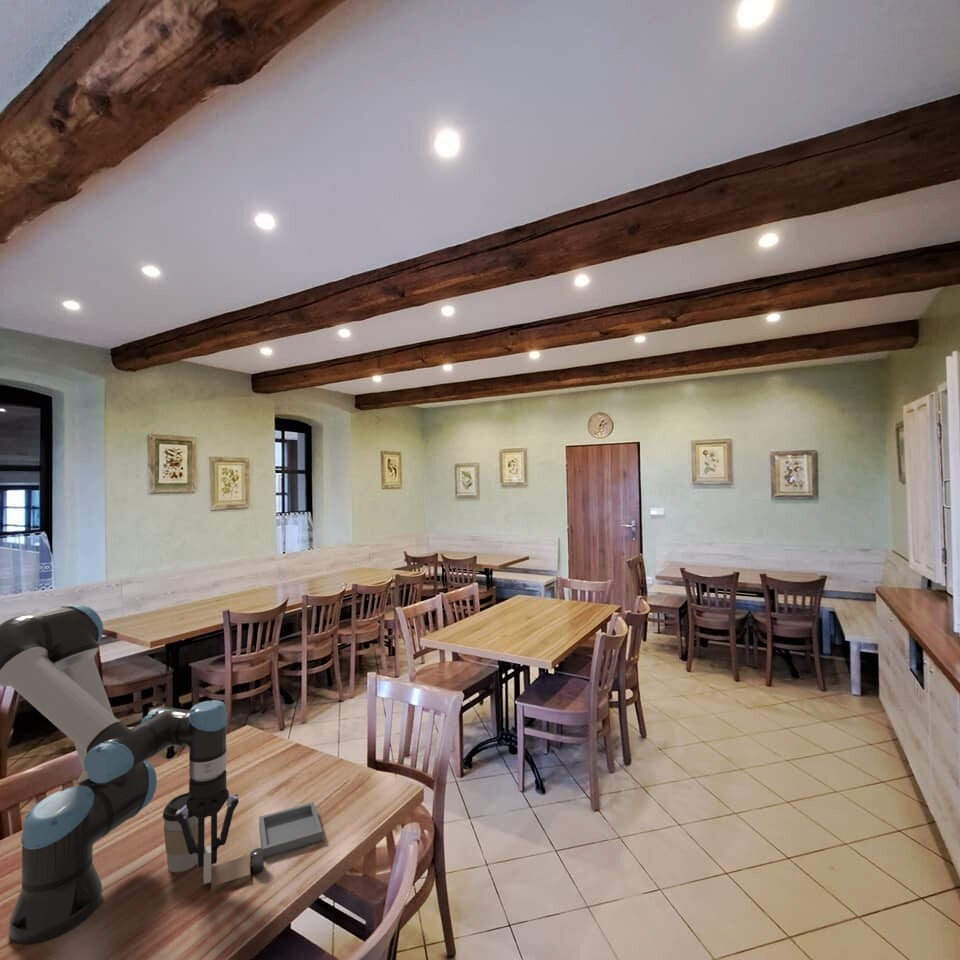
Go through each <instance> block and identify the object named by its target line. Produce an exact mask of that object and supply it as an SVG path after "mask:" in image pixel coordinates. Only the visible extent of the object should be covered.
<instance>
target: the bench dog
mask: <svg viewBox="0 0 960 960" xmlns="http://www.w3.org/2000/svg"><path fill="white" fill-rule="evenodd" d="M249 862H250V875H258V874H260V873H262V872H263V871H264V869H265V859H264V849H262V847H257V848H254V849H253V850H251V852H250V853H249Z"/></svg>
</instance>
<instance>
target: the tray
mask: <svg viewBox="0 0 960 960" xmlns="http://www.w3.org/2000/svg"><path fill="white" fill-rule="evenodd" d="M258 818H259V819H258V820H259V821H258V822H259V823H258V827H259V835H260V836H259V837H260V844H261V848H262V849H264V860H266V859H270V858H273V857H276V856H279V855H283V854H286V853H289V852H291V851H296V850H299V849H302V848H305V847H308V846H312V845H315V844H318V843H322V842H323V839H324V838H323V836H324V835H323V829H322V826H321V822H320V819H319V814H318V812H317V809H316V805H315V802H314V801H312V802H309V803H305V804H302V805H299V806H293V807H291V808H287V809H284V810H279V811H277V812H272V813H268V814H265V815H264V814H263V815H260V816H259V817H258Z"/></svg>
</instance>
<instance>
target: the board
mask: <svg viewBox="0 0 960 960" xmlns="http://www.w3.org/2000/svg"><path fill="white" fill-rule="evenodd" d="M250 881H251V873H250V854H249V855H244V856H242V857H239V858H235V859H232V860H229V861H225V862H222V863H218V864H214V865H211V882H210V894H214V893H217V892H219V891H223V890H227V889H230V888H232V887H236V886H238V885H242V884H244V883H248V882H250Z"/></svg>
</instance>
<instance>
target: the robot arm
mask: <svg viewBox="0 0 960 960" xmlns="http://www.w3.org/2000/svg"><path fill="white" fill-rule="evenodd" d="M103 632H104V625H103V621H102V619H101V617H100V616H99V614H98V612H96V610H94V609H93V608H92V607H89V606H86V605H85V604H72V605H64V606H63V605H62V606H60V607H56V608H55V607H54V608H51V609H47V610H42V611H38V612H32V613H28V614H22V615H17V616H14V617H11V618H9V619H7V620H6V621H4V622H2V623H0V687H11V688H12V689H13V690H15V692H17V693H18V695H20V697H21V696H22V697H23V699H25V700H26V701H27V702H28V703H29V704H31V705H32V707H34V708H35V709H36V710H37V711H38V712H39V713H40V714H41V715H43V717H44V718H46V719H48V721H50V722H51V723H52V724H53V725H54V726H55V727H56V728H57V729H58V730H59V731H60V732H62V733H63V734H64V735H65V736H66V737H67V738H68V739H70V740H71V741H72V742H73V744H74V747H75V750H76V753H77V756H78V759H79V762H80V765H81V767H82V772H81V775H80V776H79V778H78V780H77V785H75V786H70V787H67V788H65V789H64V790H62V791H61V790H58V791H56V792H54V793H52V794H50V795H48V796H46V797H45V798H43V799H41V800H40V801H38V802H37V803H36V804H35V805H33V807H32V808H31V809H30V810H29V811H28V812H27V814H26V816H25V818H24V820H23V826H22V833H21V836H20V843H21V848H22V849H21V889H20V892H19V895H18V898H17V900H16V902H15V906H14V908H13V911H12V913H11V916H10V920H9V926H8V927H9V928H8V929H9V933H8V934H9V935H8V936H9V938H10V939H11V940H12V941H13V942H15V943H18V944H34V943H40V942H43V941H44V942H45V941H48V940H50V939H53V938H56V937H58V936H61V935H62V934H65V933H67V932H68V931H70V930H72V929H74V928H75V927H76V926H78V925H80V924H81V923H83V922H84V921H85V920H86V919H88V918H89V917H90V916H91V915H92V914H93V913H94V912H95V911H96V910H97V908H98V907H99V905H100V903H101V902H102V898H103V885H102V881H101V879H100V876H99V874H98V871H97V870H96V868H95V865H94V864H93V862H94V861H93V855H94V854H93V850H94V848H93V847H94V844H96V843H97V842H98V841H99V840H102V838H104V837H105V836H107V835H108V834H109V833H111V832H112V831H114V830H115V829H116V828H117V829H118V827H120V826H121V825H122V824H124V823H125V822H126V821H128V820H130V819H133V818H134V817H135V816H137V815H138V814H139V813H140V812H141V811H142V810H143V809H144V808H146V807H147V806H148V805H149V804H150V803H151V801H152V800H153V798H154V795H155V793H156V790H157V785H158V779H157V773H156V769H155V767H154V766H153V764H152V762H148V760H149V759H150V758H152V757H154V756H155V755H158V754H159V753H161V752H163V751H164V750H167V749H168V748H170V747H172V746H173V747H174V746H175V747H181V748H182V747H184V748H186V747H188V750H189V751H188V754H189V755H188V757H189V758H188V759H189V760H188V761H189V763H188V765H189V767H188V768H189V769H188V770H189V771H188V772H189V773H188V777H189V780H188V792H189V798H188V800H187V804H186V805H185V806H184V807H183V808H182V809H178V810H177V811H176V816H175V819H176V820H177V821H178V822H179V823H180V825H181V828H182V831H183V835H184V838H185V842H186V845H187V849H188V852H189V854H193V853H196V854H198V863H197V867H198V869H201V868H203V885H206V884H209V883H211V870H212V866H213V865H216V864H217V863H218V862H217V861H218V848H219V847H221V846H225V844H226V843H227V839H228V835H229V832H230V827H231V823H232V819H233V816H234V811H235V810H236V807H237V806H238V804H240V803H239V795H238V794H233V795H232V794H231V793H230V792H229V790H228V788H227V731H228V730H227V727H228V717H227V706H226V704H225V702H224V701H222V700H217V699H212V700H204V701H201V702H198V703H196V704H194V705H193V706H192V707H191V708H190V709H182V708H176V707H167V706H166V707H157V708H154V709H151V710H150V711H148V712H147V714H146V715H145V716H144V717H143V718H142V720H141V722H140V723H139V724H137V725H135V726H132V727H131V728H129V727H128V726H127V725H125V723H123V722H122V721H120V720H119V719H118V718H117V717H116V716H115V715H114V712H113V710H112V707H111V703H110V701H109V697H108V695H107V692H106V689H105V687H104V684H103V681H102V679H101V676H100V672H99V670H98V666H97V663H96V661H95V656H96V654H97V653H98V651H99V647H98V643H99V642H100V641H101V639H102V637H103V635H104V634H103ZM225 804H226V806H227V807H226V812H225V815H224V819H223V824H222V827H221V831H220V835H219V837H218V813H219V812H220V811H221V809H222V808H223V806H224V805H225ZM188 810H189V811H190V812H191V813H192V814H193V815H194V816H195V817H197V818H198V844H195V841H194V837H193V834H192V830H191V827H190V823H189V820H188ZM207 817H210V845H206V846H205V826H206V825H205V822H206V821H205V819H206V818H207Z"/></svg>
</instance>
